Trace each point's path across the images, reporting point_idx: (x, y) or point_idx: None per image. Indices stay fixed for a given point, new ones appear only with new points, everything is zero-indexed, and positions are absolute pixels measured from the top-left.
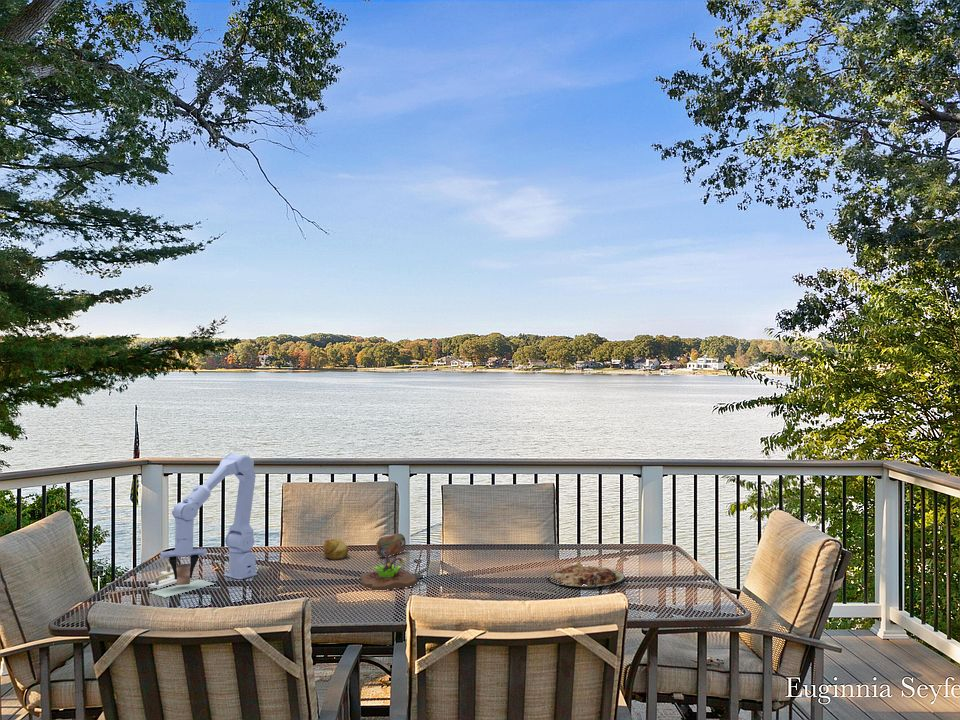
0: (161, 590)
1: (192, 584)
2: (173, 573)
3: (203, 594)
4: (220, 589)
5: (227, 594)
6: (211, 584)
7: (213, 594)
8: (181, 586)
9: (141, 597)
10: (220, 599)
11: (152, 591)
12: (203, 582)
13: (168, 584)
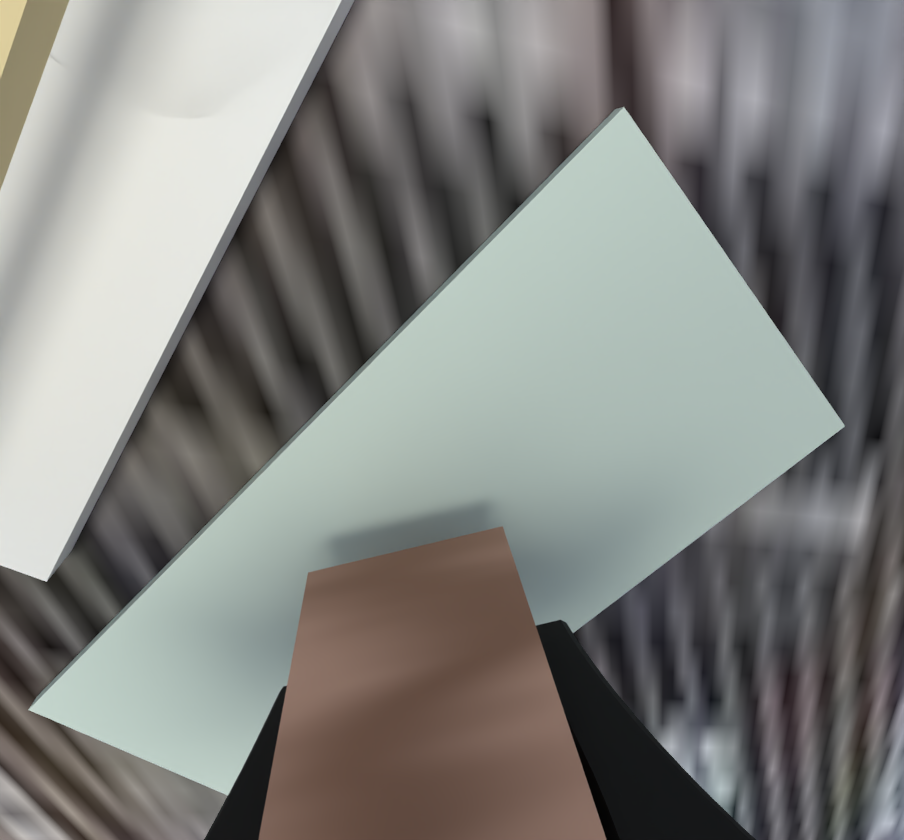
0: (161, 655)
1: (527, 433)
2: (3, 151)
3: (669, 731)
4: (849, 601)
5: (875, 735)
6: (787, 462)
7: (758, 733)
8: (383, 514)
9: (28, 797)
10: (796, 830)
11: (53, 685)
12: (686, 340)
13: (132, 422)
